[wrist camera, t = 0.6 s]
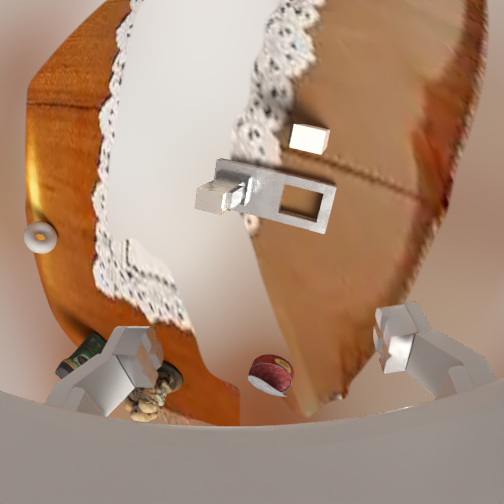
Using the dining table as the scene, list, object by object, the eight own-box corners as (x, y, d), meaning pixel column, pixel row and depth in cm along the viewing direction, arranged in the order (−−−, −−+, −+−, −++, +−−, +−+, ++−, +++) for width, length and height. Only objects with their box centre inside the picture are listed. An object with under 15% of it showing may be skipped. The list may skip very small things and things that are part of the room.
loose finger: (330, 129, 46) (326, 131, 35) (326, 147, 47) (321, 154, 36) (301, 123, 46) (289, 122, 36) (298, 141, 48) (284, 146, 37)
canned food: (297, 364, 72) (299, 403, 65) (258, 369, 74) (257, 407, 68) (284, 346, 64) (286, 390, 57) (240, 353, 67) (239, 395, 60)
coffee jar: (87, 338, 86) (50, 373, 70) (94, 328, 83) (55, 365, 66) (108, 360, 87) (74, 397, 71) (117, 351, 83) (80, 391, 67)
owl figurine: (164, 351, 77) (131, 395, 62) (195, 381, 78) (167, 428, 63) (132, 368, 85) (101, 406, 70) (159, 394, 86) (132, 434, 71)
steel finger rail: (336, 185, 49) (334, 203, 38) (325, 230, 52) (319, 259, 42) (221, 158, 52) (189, 169, 42) (215, 201, 56) (184, 222, 45)
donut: (42, 222, 73) (16, 235, 64) (44, 214, 71) (17, 226, 62) (62, 246, 74) (36, 261, 65) (65, 238, 72) (38, 253, 63)
